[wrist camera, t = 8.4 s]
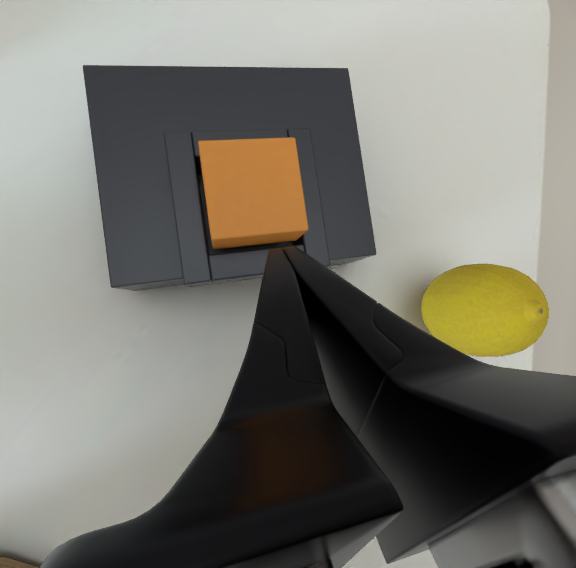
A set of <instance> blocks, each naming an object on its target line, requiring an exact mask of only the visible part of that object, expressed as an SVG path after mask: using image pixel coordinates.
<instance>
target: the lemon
mask: <svg viewBox="0 0 576 568" xmlns="http://www.w3.org/2000/svg"><path fill="white" fill-rule="evenodd" d="M421 309H422V317H423V320H424V323H425V325H426V327H427V329H428V330H429V332H430V333H431V334H432V335H433V336H434V337H435V338H437V339H439V340H440V341H442V342H444V343H446V344H447V345H449V346H451V347H453V348H455V349H456V350H458V351H460V352H462V353H464V354H468V355H472V356H481V357H487V356H505V355H510V354H513V353H516V352H519V351H522V350H524V349H526V348H528V347H529V346H531V345H532V344H533V343H535V342H536V341H537V340H538V338H539V337H540V336H541V335H542V333H543V331H544V329H545V327H546V325H547V322H548V318H549V308H548V303H547V300H546V298H545V295H544V293H543V292H542V290H541V289H540V287H539V286H538V285H537V284H536V283H535V282H534V281H533V280H532V279H531V278H530V277H528V276H527V275H525V274H523V273H521V272H519V271H517V270H515V269H512V268H509V267H504V266H499V265H493V264H473V265H464V266H460V267H456V268H454V269H451V270H449V271H447V272H444V273H443V274H441V275H440V276H438V277H437V278H436V279H435V280H433V281H432V283H431V284H430V285H429V287H428V288H427V289H426V291H425V293H424V296H423V299H422V305H421Z"/></svg>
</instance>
